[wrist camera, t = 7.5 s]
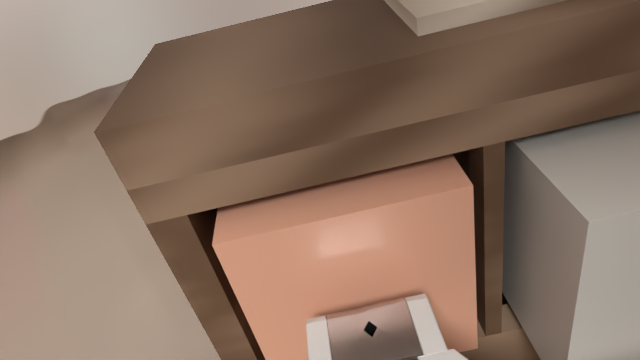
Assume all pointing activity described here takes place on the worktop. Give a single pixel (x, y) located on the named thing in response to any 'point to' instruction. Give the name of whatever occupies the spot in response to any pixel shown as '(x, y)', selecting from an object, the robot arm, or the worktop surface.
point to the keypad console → (359, 121)
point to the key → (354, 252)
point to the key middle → (575, 239)
